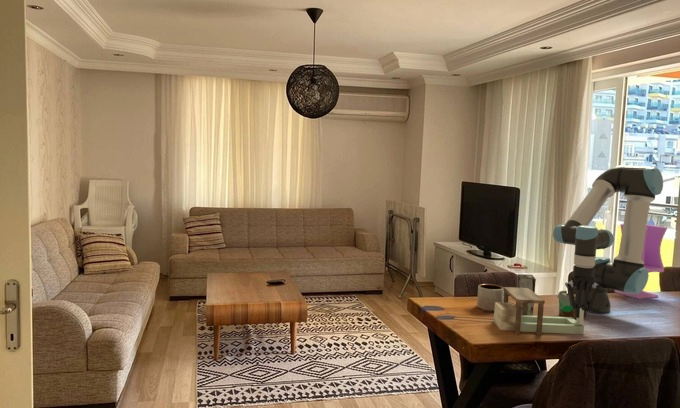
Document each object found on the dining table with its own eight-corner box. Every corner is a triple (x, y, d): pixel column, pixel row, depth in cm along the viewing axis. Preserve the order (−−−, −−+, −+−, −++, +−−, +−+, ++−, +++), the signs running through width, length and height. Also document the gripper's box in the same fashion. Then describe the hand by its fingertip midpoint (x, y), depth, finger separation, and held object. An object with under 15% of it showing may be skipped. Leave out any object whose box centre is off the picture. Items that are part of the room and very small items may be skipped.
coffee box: (533, 317, 224) (536, 279, 223) (517, 315, 225) (519, 277, 224) (530, 311, 233) (532, 274, 232) (514, 309, 234) (517, 273, 233)
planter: (475, 309, 233) (476, 287, 232) (478, 303, 243) (480, 282, 242) (501, 313, 228) (502, 290, 228) (503, 306, 239) (505, 285, 238)
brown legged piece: (526, 319, 220) (528, 288, 219) (542, 335, 201) (544, 300, 200) (501, 318, 220) (503, 287, 219) (515, 334, 201) (517, 299, 200)
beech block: (508, 322, 215) (510, 302, 215) (516, 330, 206) (517, 310, 205) (493, 321, 216) (495, 302, 215) (500, 329, 206) (501, 309, 205)
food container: (550, 312, 232) (552, 290, 231) (564, 313, 232) (566, 290, 231) (564, 321, 219) (566, 297, 219) (579, 321, 220) (581, 297, 219)
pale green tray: (571, 324, 216) (571, 317, 215) (583, 334, 204) (584, 326, 204) (508, 321, 216) (508, 314, 216) (517, 331, 205) (517, 323, 204)
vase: (639, 300, 260) (645, 228, 257) (611, 292, 274) (617, 223, 271) (661, 297, 266) (667, 227, 263) (633, 290, 280) (638, 223, 277)
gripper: (596, 264, 211) (591, 323, 213) (563, 263, 211) (558, 322, 213) (605, 268, 204) (600, 329, 206) (571, 267, 204) (566, 328, 206)
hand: (579, 325), depth 210 cm, fingers closed
